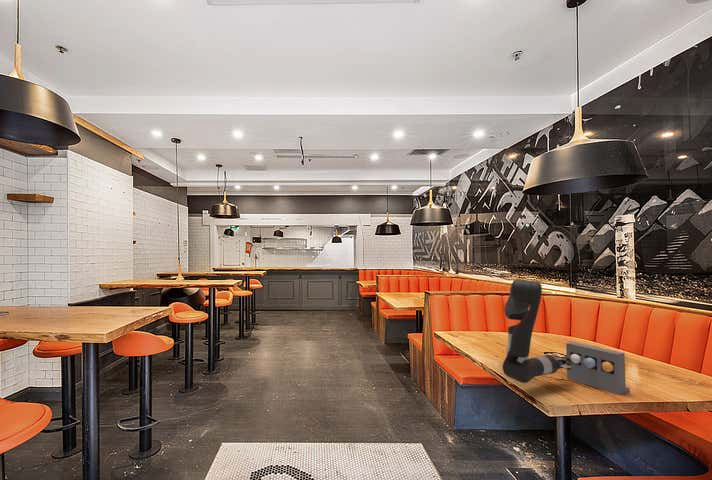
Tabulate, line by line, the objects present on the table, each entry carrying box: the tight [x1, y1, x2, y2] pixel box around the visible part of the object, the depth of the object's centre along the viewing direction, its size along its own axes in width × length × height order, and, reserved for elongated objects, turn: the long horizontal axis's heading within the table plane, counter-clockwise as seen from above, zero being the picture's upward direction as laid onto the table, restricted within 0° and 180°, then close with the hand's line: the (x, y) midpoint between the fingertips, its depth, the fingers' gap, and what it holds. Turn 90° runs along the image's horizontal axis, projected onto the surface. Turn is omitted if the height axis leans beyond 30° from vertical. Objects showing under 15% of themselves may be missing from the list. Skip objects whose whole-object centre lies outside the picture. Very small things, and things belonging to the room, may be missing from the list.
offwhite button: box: [570, 353, 581, 363], centre depth 155 cm, size 4×3×4 cm
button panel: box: [565, 341, 631, 396], centre depth 150 cm, size 21×8×16 cm, turn 27°
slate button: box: [584, 357, 597, 368], centre depth 149 cm, size 4×3×4 cm
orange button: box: [602, 361, 614, 372], centre depth 143 cm, size 4×3×4 cm
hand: (568, 360), depth 152 cm, fingers closed
